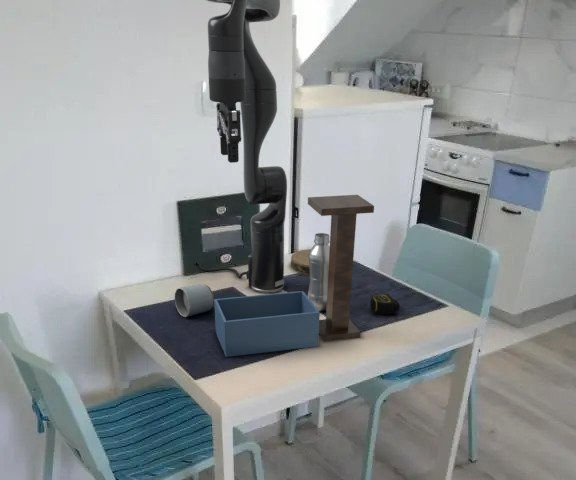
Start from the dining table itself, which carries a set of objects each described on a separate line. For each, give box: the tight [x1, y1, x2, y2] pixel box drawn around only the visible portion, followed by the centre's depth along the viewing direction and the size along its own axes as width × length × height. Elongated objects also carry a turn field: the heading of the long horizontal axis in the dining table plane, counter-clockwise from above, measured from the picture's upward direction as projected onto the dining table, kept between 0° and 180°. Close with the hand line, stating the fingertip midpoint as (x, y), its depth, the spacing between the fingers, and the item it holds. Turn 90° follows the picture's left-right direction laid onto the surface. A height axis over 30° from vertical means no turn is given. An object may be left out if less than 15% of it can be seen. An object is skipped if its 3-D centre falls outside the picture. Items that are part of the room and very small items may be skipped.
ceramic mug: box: [174, 283, 215, 318], centre depth 160 cm, size 11×8×8 cm
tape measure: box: [369, 293, 401, 315], centre depth 163 cm, size 7×7×4 cm
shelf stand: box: [307, 194, 375, 342], centre depth 145 cm, size 12×10×32 cm
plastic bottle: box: [306, 232, 330, 312], centre depth 160 cm, size 6×7×20 cm
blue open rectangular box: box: [213, 290, 321, 358], centre depth 146 cm, size 22×13×9 cm, turn 106°
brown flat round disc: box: [290, 248, 311, 276], centre depth 192 cm, size 16×16×3 cm
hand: (229, 158), depth 135 cm, fingers open, 8 cm apart
